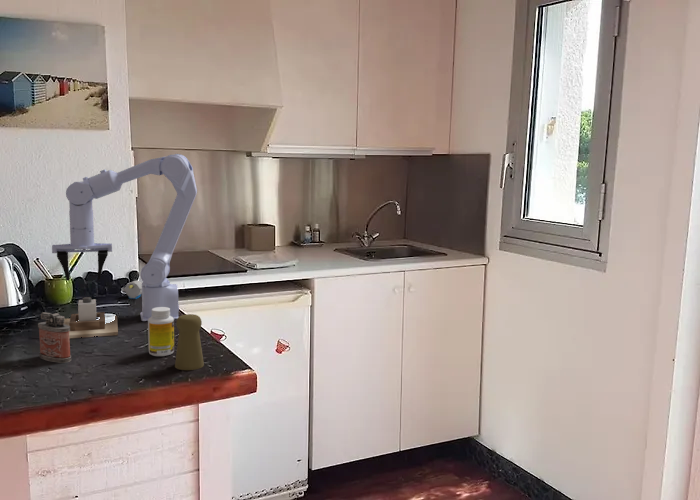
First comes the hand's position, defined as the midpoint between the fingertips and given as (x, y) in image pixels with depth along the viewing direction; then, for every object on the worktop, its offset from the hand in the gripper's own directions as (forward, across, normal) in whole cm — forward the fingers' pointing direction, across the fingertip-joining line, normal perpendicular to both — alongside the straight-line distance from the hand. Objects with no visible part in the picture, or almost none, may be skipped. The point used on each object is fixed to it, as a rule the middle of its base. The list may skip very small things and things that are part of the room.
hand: (83, 279), depth 176 cm
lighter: (+11, -5, -34) cm, 36 cm away
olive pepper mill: (+11, +22, -46) cm, 52 cm away
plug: (+10, +1, -11) cm, 15 cm away
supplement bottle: (+11, +17, -36) cm, 41 cm away
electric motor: (+11, +13, +20) cm, 26 cm away
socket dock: (+10, +1, -11) cm, 15 cm away
